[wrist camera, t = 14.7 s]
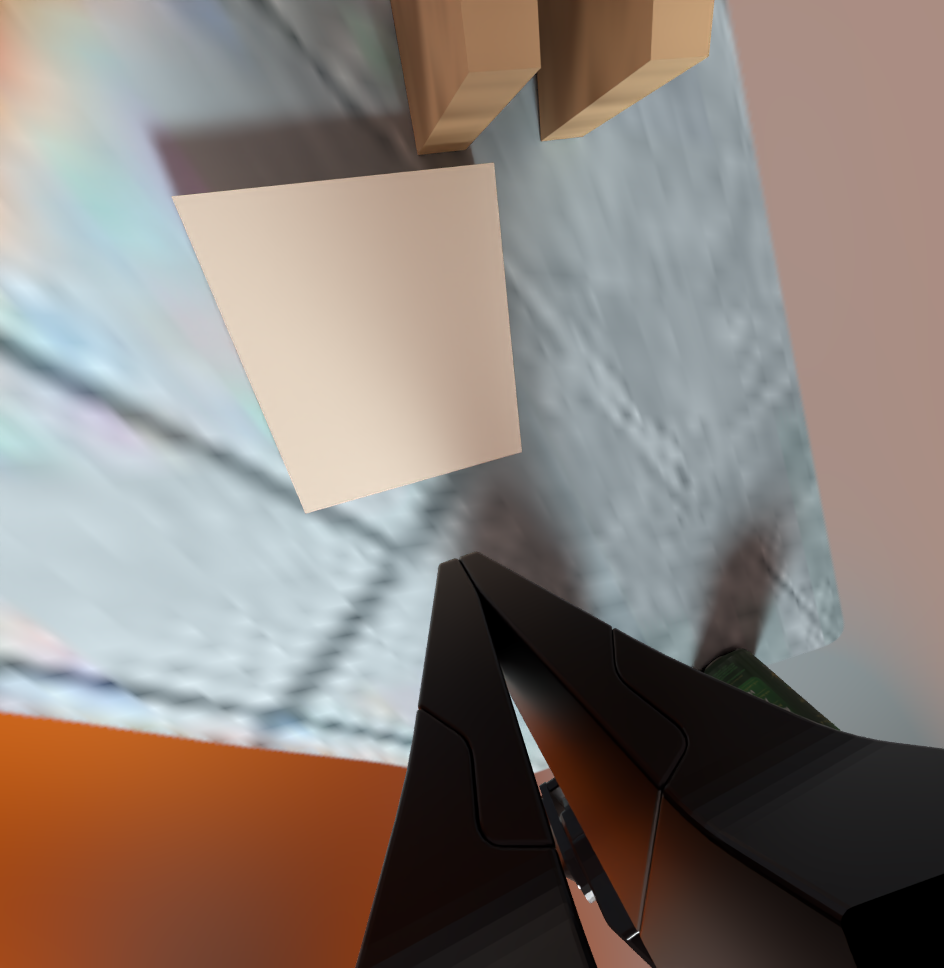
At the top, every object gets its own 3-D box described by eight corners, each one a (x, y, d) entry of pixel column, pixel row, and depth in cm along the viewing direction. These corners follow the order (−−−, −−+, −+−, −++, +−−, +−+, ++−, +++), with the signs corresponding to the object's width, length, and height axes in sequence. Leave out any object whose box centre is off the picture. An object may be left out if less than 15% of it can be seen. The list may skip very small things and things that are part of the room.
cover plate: (521, 451, 20) (305, 513, 18) (504, 438, 22) (308, 491, 20) (493, 162, 14) (171, 196, 12) (473, 179, 17) (194, 211, 14)
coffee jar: (679, 683, 41) (905, 931, 25) (738, 635, 40) (1005, 855, 24) (704, 712, 46) (904, 934, 30) (756, 669, 45) (987, 871, 29)
